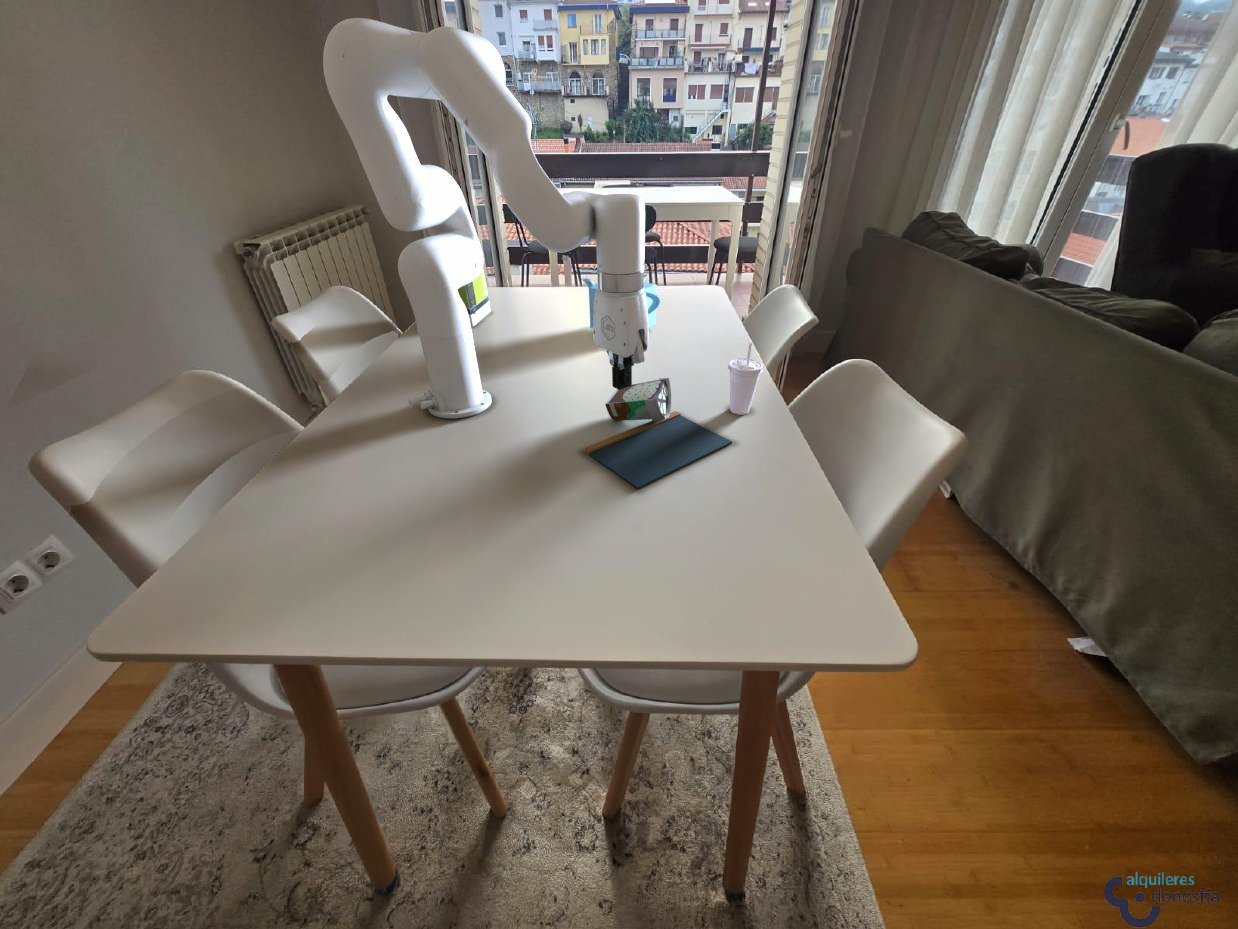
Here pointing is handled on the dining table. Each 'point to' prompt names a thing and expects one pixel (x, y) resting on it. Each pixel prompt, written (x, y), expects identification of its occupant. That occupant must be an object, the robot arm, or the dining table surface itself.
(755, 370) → the smoothie
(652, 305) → the teakettle
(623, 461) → the dark blue notebook
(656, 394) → the food container
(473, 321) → the tea box
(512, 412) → the dining table surface
